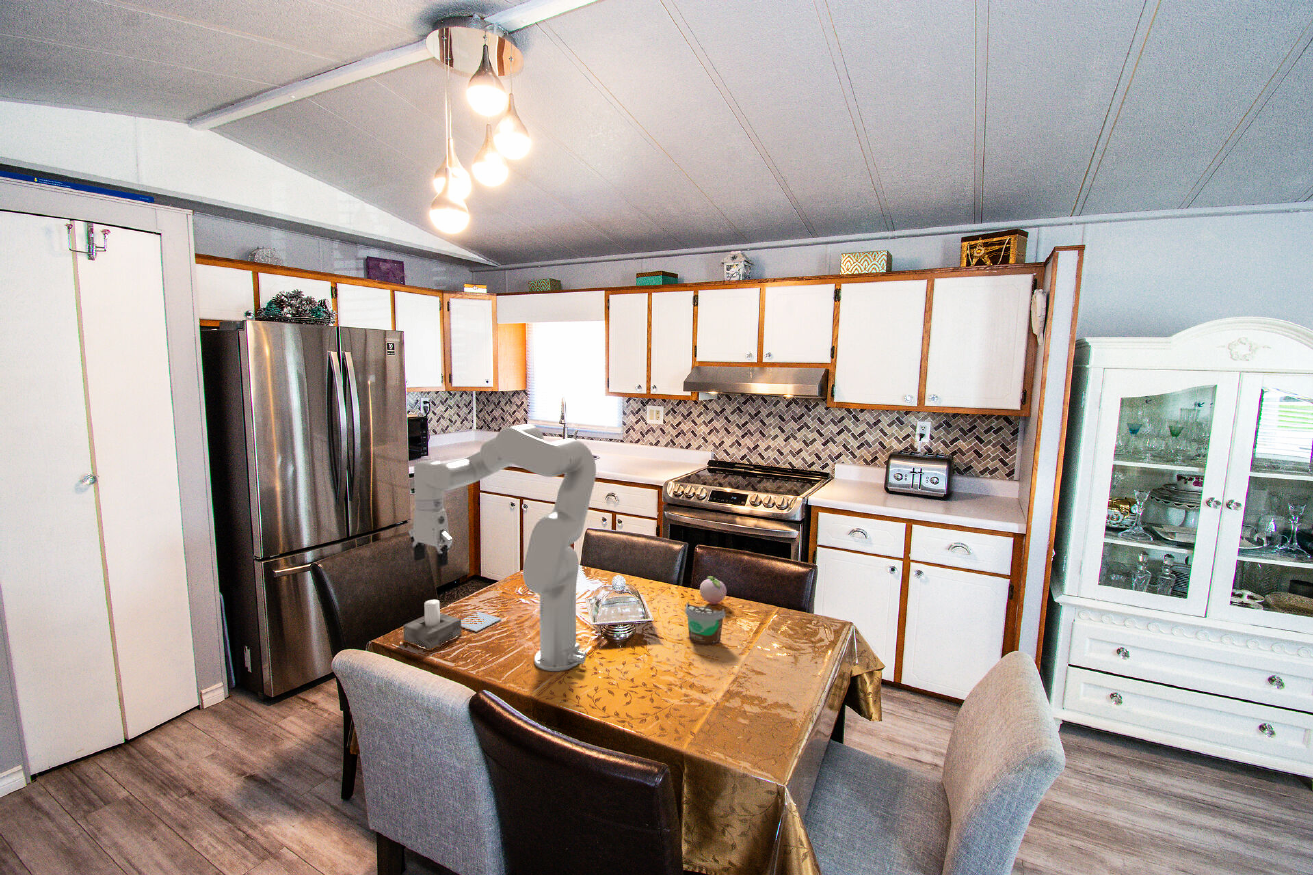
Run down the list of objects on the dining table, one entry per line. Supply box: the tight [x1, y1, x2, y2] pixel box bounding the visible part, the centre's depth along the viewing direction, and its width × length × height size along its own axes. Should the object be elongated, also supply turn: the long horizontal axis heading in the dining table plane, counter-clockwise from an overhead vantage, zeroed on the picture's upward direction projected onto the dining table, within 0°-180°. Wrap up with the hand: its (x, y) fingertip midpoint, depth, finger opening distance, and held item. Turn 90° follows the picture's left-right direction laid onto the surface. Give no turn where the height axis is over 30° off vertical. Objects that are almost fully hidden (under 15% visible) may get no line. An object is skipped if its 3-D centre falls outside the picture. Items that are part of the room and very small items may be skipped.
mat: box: [461, 611, 502, 632], centre depth 171 cm, size 10×10×1 cm
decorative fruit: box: [699, 575, 727, 605], centre depth 186 cm, size 9×8×10 cm
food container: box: [684, 600, 726, 647], centre depth 160 cm, size 12×6×10 cm, turn 62°
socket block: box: [402, 612, 462, 649], centre depth 161 cm, size 11×11×5 cm
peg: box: [424, 599, 441, 627], centre depth 160 cm, size 4×4×11 cm
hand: (430, 562), depth 158 cm, fingers open, 9 cm apart
